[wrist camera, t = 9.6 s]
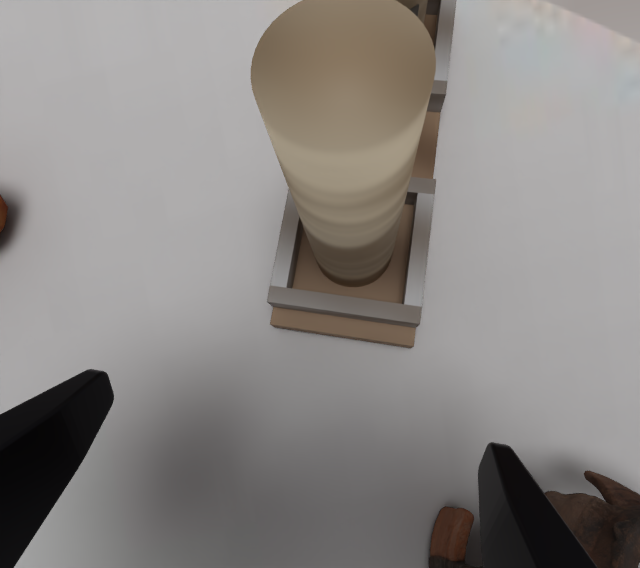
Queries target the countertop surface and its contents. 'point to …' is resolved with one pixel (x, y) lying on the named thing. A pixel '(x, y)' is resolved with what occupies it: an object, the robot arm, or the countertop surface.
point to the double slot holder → (408, 254)
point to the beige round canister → (346, 123)
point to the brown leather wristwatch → (578, 513)
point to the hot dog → (2, 213)
